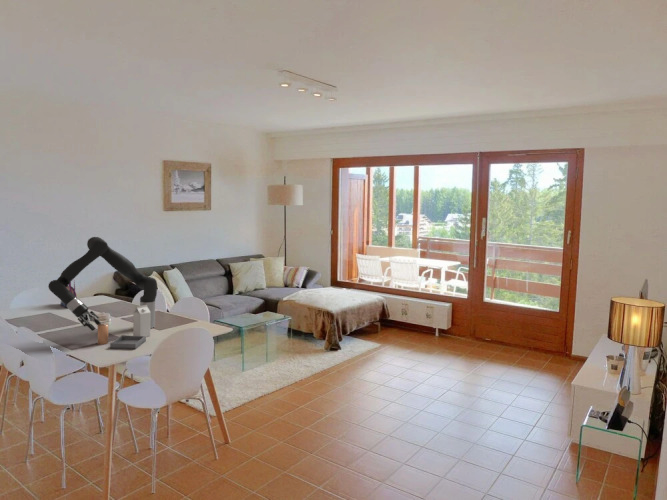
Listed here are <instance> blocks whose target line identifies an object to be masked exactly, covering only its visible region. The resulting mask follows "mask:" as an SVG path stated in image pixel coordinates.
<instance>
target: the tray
mask: <svg viewBox="0 0 667 500" xmlns="http://www.w3.org/2000/svg"><path fill="white" fill-rule="evenodd" d="M146 341H147V337H146V336H133V335H125V334H123V335H121V336H118V337H117V338H115V339H114V340H113V341H111V342H110V343H109V345H110V346H109V348H110V349H116V350H118V349H119V350H124V349H125V350H137V349H139V347H140V346H141V345H143V344H144V343H146Z"/></svg>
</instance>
